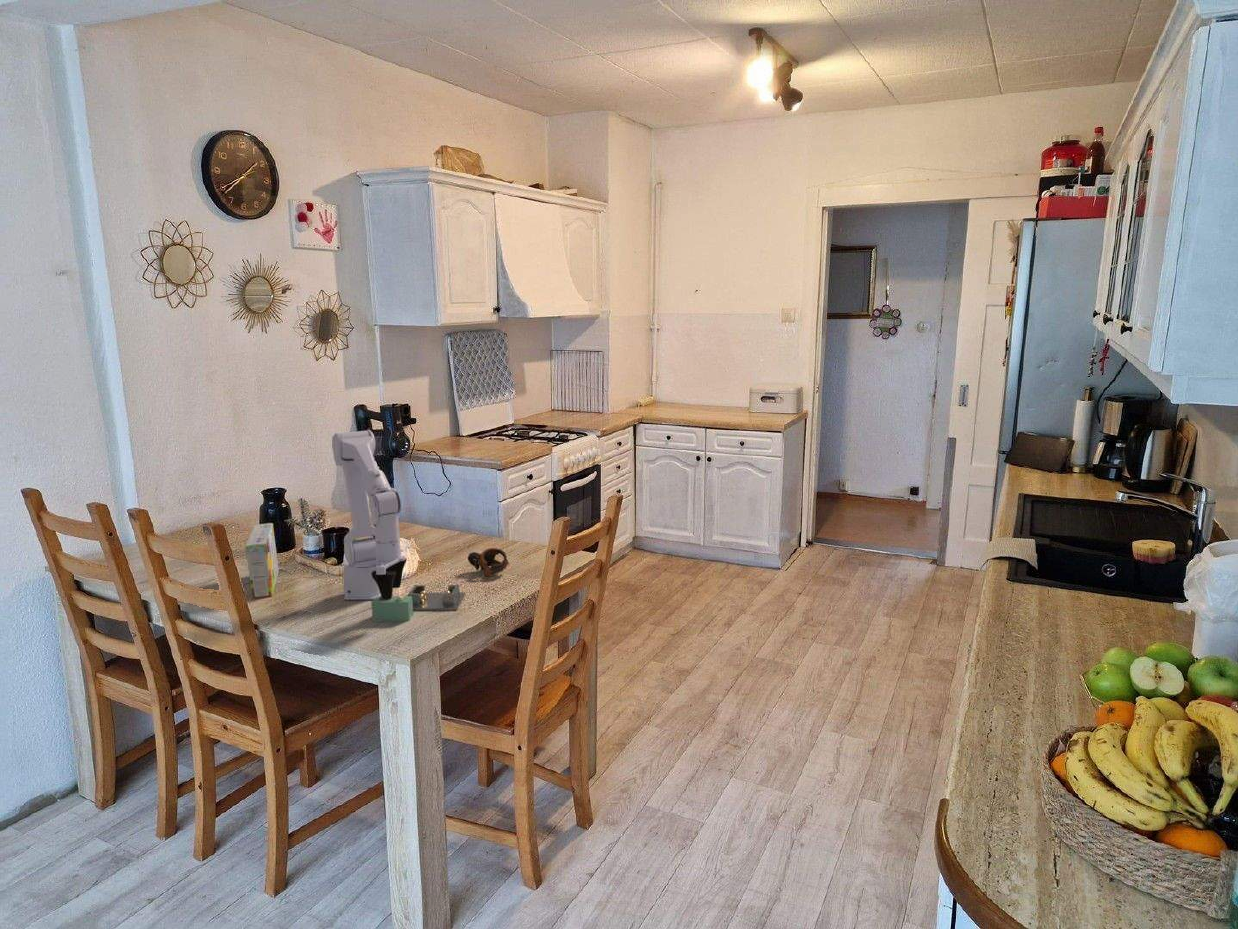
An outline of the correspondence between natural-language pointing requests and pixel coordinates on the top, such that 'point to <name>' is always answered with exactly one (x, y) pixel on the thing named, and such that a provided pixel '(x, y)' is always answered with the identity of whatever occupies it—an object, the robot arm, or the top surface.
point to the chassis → (436, 598)
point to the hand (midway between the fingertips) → (391, 593)
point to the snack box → (262, 560)
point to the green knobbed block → (392, 608)
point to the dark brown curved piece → (488, 561)
